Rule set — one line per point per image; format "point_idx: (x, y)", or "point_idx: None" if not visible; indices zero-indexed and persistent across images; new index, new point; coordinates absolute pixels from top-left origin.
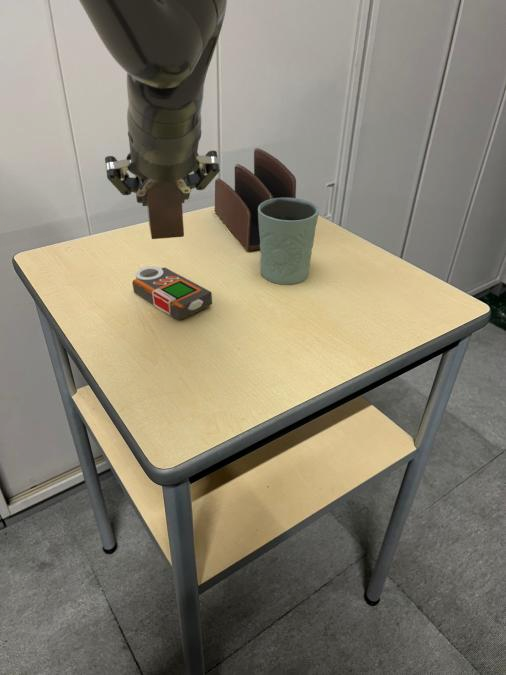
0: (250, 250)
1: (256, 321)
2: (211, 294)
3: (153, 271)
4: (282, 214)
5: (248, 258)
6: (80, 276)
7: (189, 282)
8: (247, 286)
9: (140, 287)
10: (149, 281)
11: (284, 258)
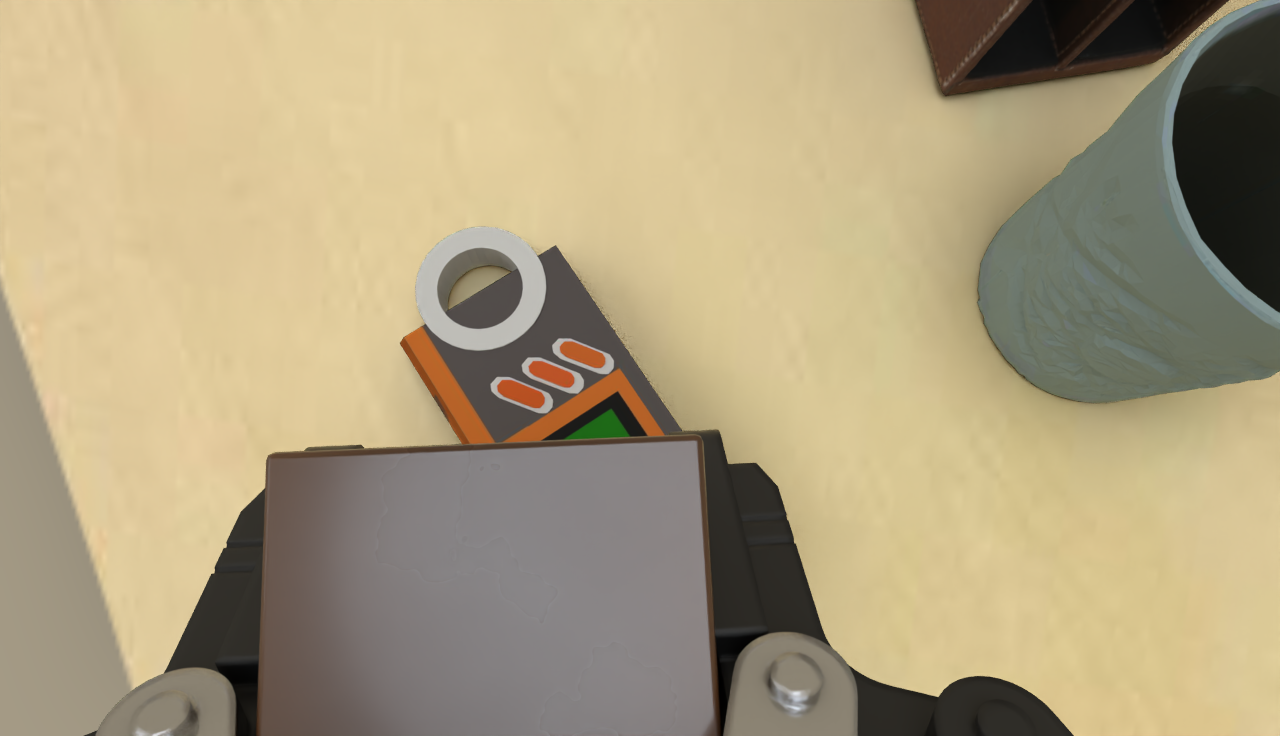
0: (956, 92)
1: (909, 668)
2: None
3: (503, 257)
4: (1248, 77)
5: (937, 150)
6: (187, 185)
7: (657, 417)
8: (905, 385)
9: (433, 397)
10: (476, 367)
11: (1146, 381)
